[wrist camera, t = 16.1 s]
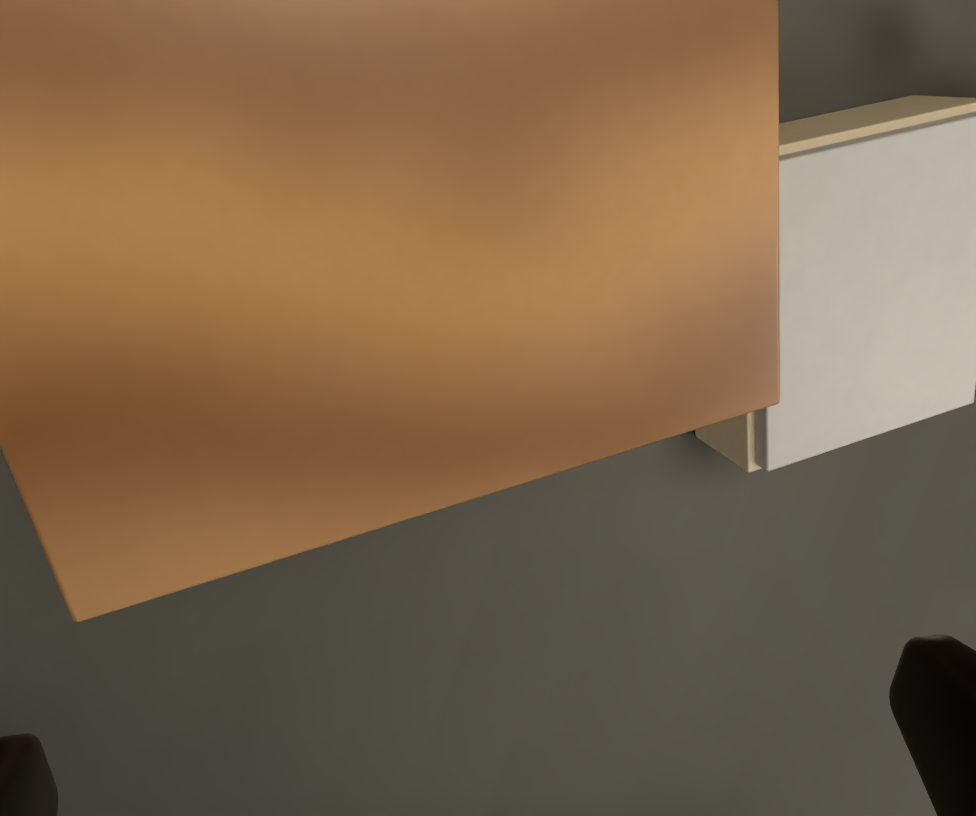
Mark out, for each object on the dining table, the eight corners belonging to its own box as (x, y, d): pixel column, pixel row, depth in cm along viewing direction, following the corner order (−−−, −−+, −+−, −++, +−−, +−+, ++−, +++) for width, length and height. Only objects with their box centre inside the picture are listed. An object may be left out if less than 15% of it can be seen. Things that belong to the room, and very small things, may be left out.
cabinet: (-220, -411, 13) (-535, -818, 7) (543, -425, 16) (779, -712, 10) (96, 445, 19) (73, 626, 13) (608, 311, 22) (781, 404, 16)
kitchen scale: (694, 436, 25) (760, 481, 22) (680, 144, 21) (755, 156, 19) (903, 371, 26) (987, 405, 24) (920, 93, 23) (1019, 97, 20)
